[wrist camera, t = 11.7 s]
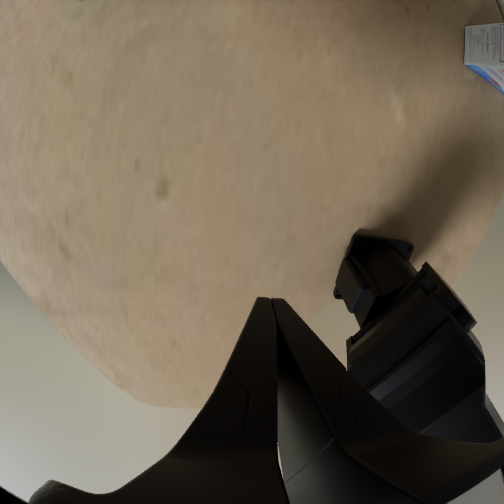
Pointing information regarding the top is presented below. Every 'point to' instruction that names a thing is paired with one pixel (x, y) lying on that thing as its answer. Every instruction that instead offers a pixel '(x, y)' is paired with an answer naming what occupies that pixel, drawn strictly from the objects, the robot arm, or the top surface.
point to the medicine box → (486, 52)
